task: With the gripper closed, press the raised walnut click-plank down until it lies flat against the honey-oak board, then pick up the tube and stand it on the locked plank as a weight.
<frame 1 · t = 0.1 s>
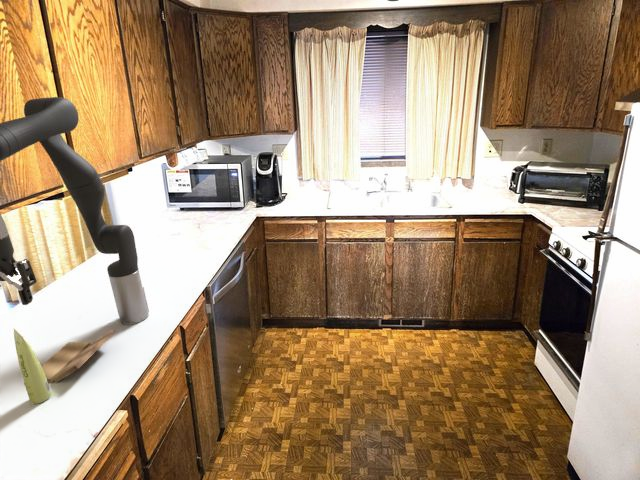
hand: (10, 303, 101), 29 cm above the countertop, fingers open, 8 cm apart
plank: (85, 354, 127), point 3 cm above the countertop, hinge at 30.0°
tube: (41, 398, 115), on the countertop
oak board: (61, 362, 129), on the countertop
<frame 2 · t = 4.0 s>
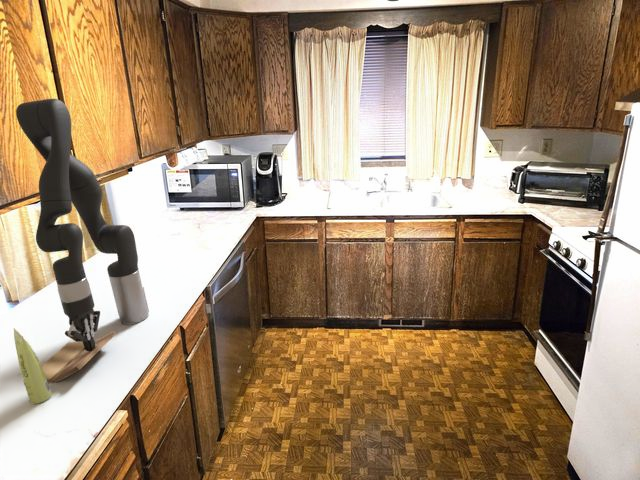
hand: (90, 349, 126), 5 cm above the countertop, fingers closed
plank: (86, 355, 127), point 3 cm above the countertop, hinge at 27.0°, touching gripper
everything else where it was.
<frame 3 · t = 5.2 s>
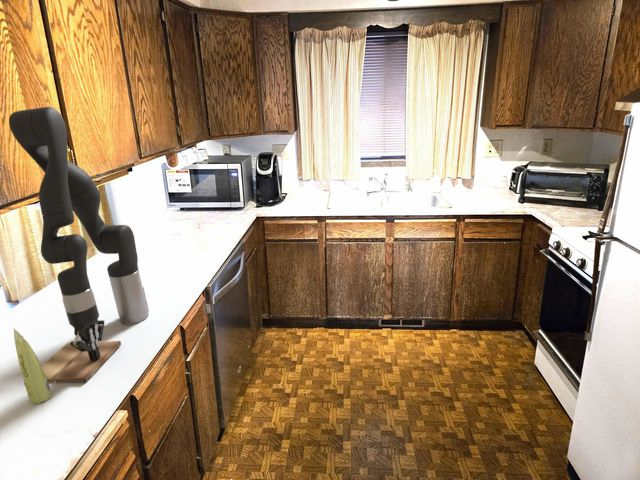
hand: (95, 359, 127), 1 cm above the countertop, fingers closed
plank: (89, 360, 128), point 1 cm above the countertop, hinge at 3.0°, touching gripper
everything else where it was.
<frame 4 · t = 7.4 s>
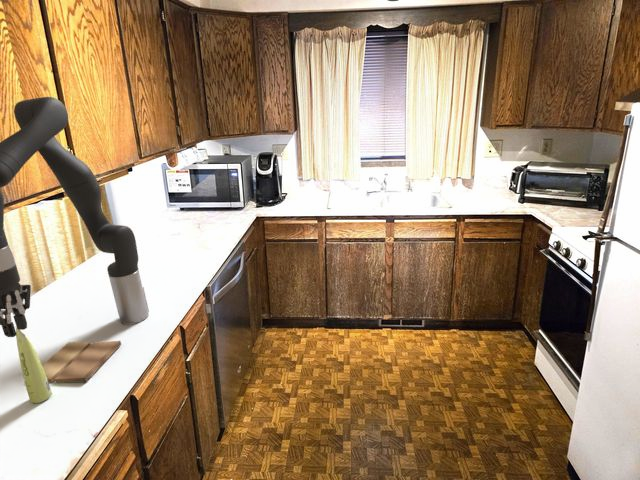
hand: (17, 332, 108), 20 cm above the countertop, fingers open, 3 cm apart
plank: (89, 360, 128), point 1 cm above the countertop, hinge at 2.9°
tube: (41, 397, 115), on the countertop, touching gripper
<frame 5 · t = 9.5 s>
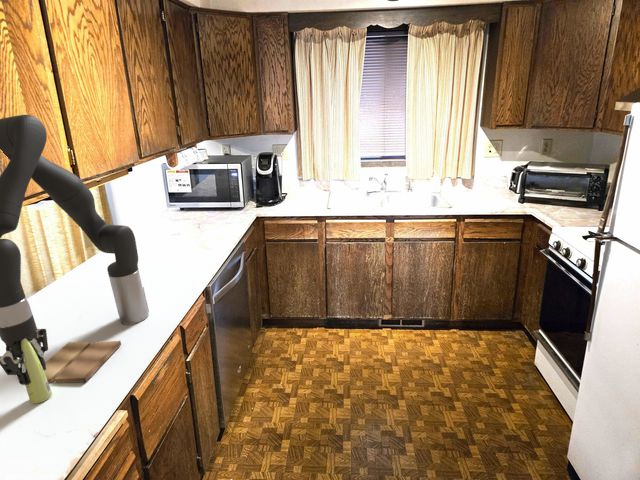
hand: (34, 376, 113), 6 cm above the countertop, fingers closed on tube, 5 cm apart
tube: (41, 398, 115), on the countertop, touching gripper
everything else where it was.
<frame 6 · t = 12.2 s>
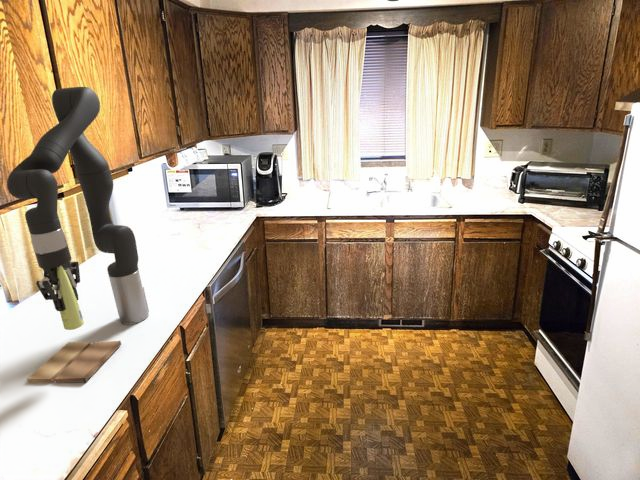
hand: (68, 305, 120), 20 cm above the countertop, fingers closed on tube, 5 cm apart
tube: (74, 326, 122), point 13 cm above the countertop, touching gripper
everything else where it was.
when the fingers open (8 cm above the countertop, at t = 14.6 s): tube stays where it is, resting on plank.
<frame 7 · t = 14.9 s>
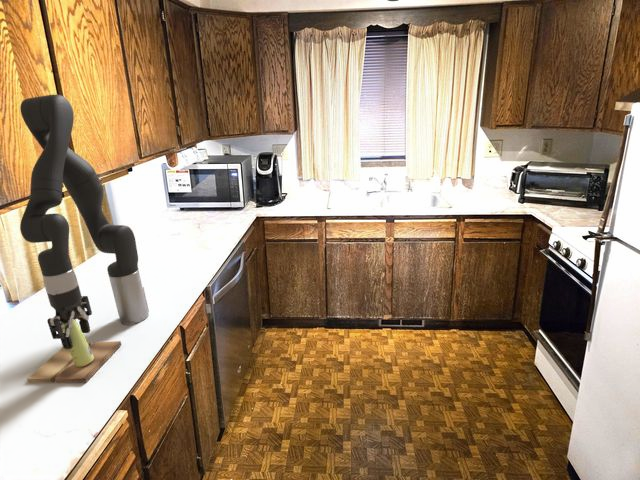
hand: (77, 340, 123), 9 cm above the countertop, fingers open, 7 cm apart
plank: (90, 360, 128), point 1 cm above the countertop, hinge at 2.0°, touching tube
tube: (85, 362, 126), point 1 cm above the countertop, touching plank
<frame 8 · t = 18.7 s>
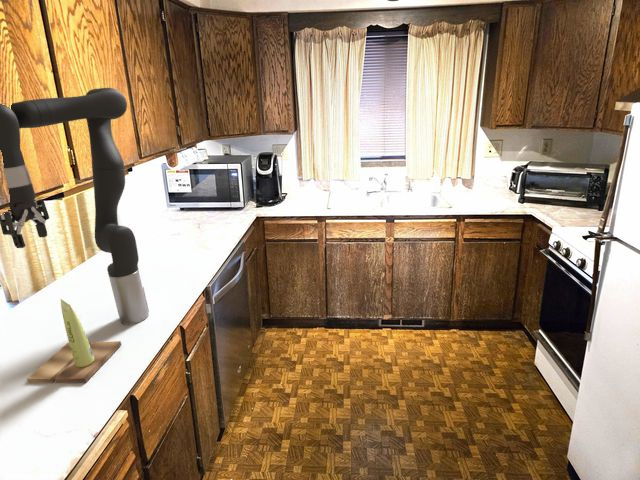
hand: (32, 242, 121), 36 cm above the countertop, fingers open, 8 cm apart
at the end: plank at +2° (first picture: +30°); tube inside the target area (0.7 cm from its centre), point 1.2 cm above the countertop; tube tilted 1° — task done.
